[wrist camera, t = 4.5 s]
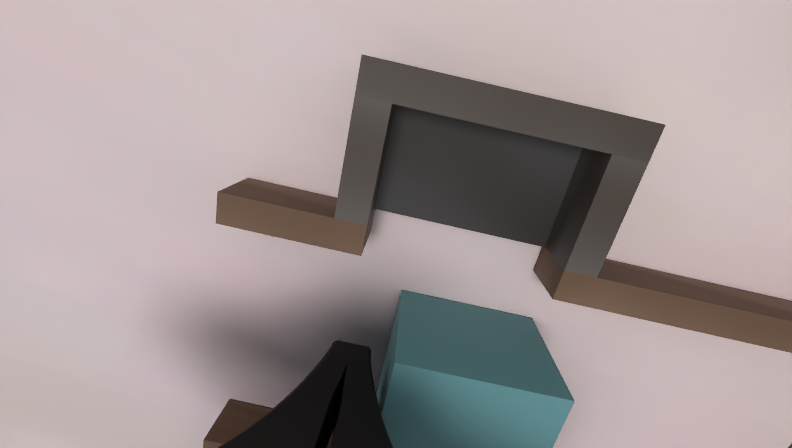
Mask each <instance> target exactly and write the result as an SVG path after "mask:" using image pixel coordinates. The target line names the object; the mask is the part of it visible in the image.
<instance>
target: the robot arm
mask: <svg viewBox="0 0 792 448" xmlns="http://www.w3.org/2000/svg"><path fill="white" fill-rule="evenodd" d="M332 432H333V436H332V442H331V446H330V448H393V446H392V443H391V441H390V438H389V436H388V433H387V430H386V427H385V424H384V421H383V418H382V415H381V411H380V408H379V404H378V400H377V396H376V392H375V387H374V382H373V376H372V368H371V350H370V348H369V347H366V346H361V345H357V344H352V343H348V342H343V341H338V340H337V341H335V342H334V343H333V344H332V346H331V348H330V349H329V351H328V352H327V353H326V355H325V356H324V357H323V359H322V360H321V361H320V362H319V364H318V365H317V366H316V367H315V368H314V369H313V370H312V372H311V373H310V374H309V375H308V376H307V377H306V378H305V379H304V380H303V381H302V382H301V383H300V384H299V385H298V386H297V387H296V388H295V389H294V390H293V391H292V392H291V393H290V394H289V395H288V396H287V397H286V398H285V399H284V400H283V401H281V402H280V403H279V404H278V405H277V406H276V407H274V408H273V409H272V410H271V411H270V412H268V413H267V414H266V415H265V416H263V417H262V418H261V419H259V420H258V421H257V422H255V423H254V424H253V425H251V426H250V427H249V428H247V429H246V430H244V431H243V432H241V433H240V434H238V435H237V436H235V437H234V438H232V439H231V440H229V441H227V442H226V443H224V444H223V445H221V446H219V447H218V448H327V446H328V443H329V440H330V438H331V435H332Z"/></svg>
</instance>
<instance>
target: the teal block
mask: <svg viewBox="0 0 792 448" xmlns="http://www.w3.org/2000/svg"><path fill="white" fill-rule="evenodd" d="M376 396H377V400H378V404H379V408H380V411H381V415H382V418H383V421H384V424H385V427H386V430H387V433H388V436H389V438H390V441H391V443H392V446H393V448H552V447H553V445H554V443H555V441H556V439H557V437H558V435H559V433H560V431H561V428H562V426H563V424H564V422H565V420H566V418H567V416H568V414H569V412H570V410H571V407H572V405H573V403H574V399H573V397H572V395H571V393H570V391H569V390H568V388H567V386H566V384H565V382H564V380H563V378H562V376H561V374H560V372H559V370H558V368H557V366H556V364H555V362H554V360H553V358H552V356H551V354H550V353H549V351H548V349H547V347H546V345H545V343H544V341H543V339H542V337H541V335H540V333H539V331H538V329H537V327H536V325H535V323H534V321H533V319H532V318H529V317H524V316H519V315H515V314H510V313H506V312H501V311H496V310H492V309H487V308H482V307H478V306H473V305H469V304H464V303H459V302H455V301H450V300H445V299H441V298H436V297H431V296H427V295H422V294H418V293H413V292H408V291H404V290H401V294H400V299H399V303H398V307H397V311H396V315H395V319H394V323H393V327H392V332H391V336H390V340H389V344H388V348H387V352H386V356H385V360H384V365H383V369H382V373H381V377H380V381H379V385H378V389H377V393H376Z"/></svg>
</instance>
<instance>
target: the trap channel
mask: <svg viewBox="0 0 792 448" xmlns="http://www.w3.org/2000/svg"><path fill="white" fill-rule="evenodd" d="M664 127H665V125H664V124H660V123H655V122H651V121H647V120H642V119H638V118H634V117H629V116H625V115H621V114H617V113H612V112H608V111H604V110H599V109H595V108H591V107H586V106H582V105H578V104H573V103H569V102H565V101H560V100H556V99H552V98H547V97H543V96H539V95H534V94H530V93H526V92H521V91H517V90H513V89H508V88H504V87H500V86H496V85H491V84H487V83H483V82H478V81H474V80H470V79H465V78H461V77H457V76H452V75H448V74H444V73H439V72H435V71H431V70H426V69H422V68H418V67H413V66H409V65H405V64H400V63H396V62H392V61H387V60H383V59H379V58H375V57H370V56H366V55H362V57H361V62H360V68H359V74H358V80H357V86H356V92H355V98H354V104H353V110H352V116H351V121H350V127H349V133H348V139H347V145H346V151H345V157H344V163H343V169H342V175H341V180H340V186H339V192H338V198H334V197H329V196H325V195H321V194H316V193H312V192H307V191H303V190H298V189H294V188H290V187H285V186H281V185H276V184H272V183H268V182H263V181H259V180H254V179H250V178H247V179H245V180H242V181H240V182H238V183H236V184H234V185H232V186H229V187H227V188H225V189H223V190H221V191H218V194H217V212H216V223H217V224H221V225H226V226H230V227H235V228H239V229H244V230H248V231H253V232H257V233H261V234H266V235H270V236H275V237H279V238H284V239H288V240H293V241H297V242H302V243H306V244H310V245H315V246H319V247H324V248H328V249H333V250H337V251H342V252H346V253H350V254H355V255H359V256H361V255H362V252H363V249H364V247H365V244H366V241H367V239H368V236H369V233H370V229H371V224H372V219H373V214H374V209H379V210H383V211H388V212H392V213H397V214H401V215H405V216H410V217H414V218H419V219H423V220H427V221H432V222H436V223H441V224H445V225H450V226H454V227H458V228H463V229H467V230H472V231H476V232H480V233H485V234H489V235H494V236H498V237H502V238H507V239H511V240H516V241H520V242H525V243H529V244H533V245H538V246H542V249H541V252H540V254H539V257H538V260H537V262H536V265H535V268H534V272H535V273H536V275H537V276H538V278H539V279H540V281H541V282H542V284H543V285H544V287H545V288H546V290H547V291H548V293H549V294H550V296H551V297H552V299H555V300H559V301H564V302H568V303H573V304H577V305H582V306H586V307H591V308H595V309H599V310H604V311H608V312H613V313H617V314H622V315H626V316H631V317H635V318H639V319H644V320H648V321H653V322H657V323H662V324H666V325H671V326H675V327H679V328H684V329H688V330H693V331H697V332H702V333H706V334H711V335H715V336H719V337H724V338H728V339H733V340H737V341H742V342H746V343H751V344H755V345H759V346H764V347H768V348H773V349H777V350H782V351H786V352H791V353H792V301H788V300H784V299H780V298H775V297H771V296H766V295H762V294H757V293H753V292H749V291H744V290H740V289H735V288H731V287H727V286H722V285H718V284H713V283H709V282H704V281H700V280H696V279H691V278H687V277H682V276H678V275H674V274H669V273H665V272H660V271H656V270H652V269H647V268H643V267H638V266H634V265H629V264H625V263H621V262H616V261H612V260H607V259H606V257H607V254H608V252H609V250H610V248H611V245H612V243H613V241H614V239H615V236H616V234H617V232H618V230H619V228H620V225H621V223H622V221H623V219H624V216H625V214H626V212H627V210H628V207H629V205H630V203H631V201H632V199H633V196H634V194H635V192H636V190H637V187H638V185H639V183H640V181H641V178H642V176H643V174H644V172H645V170H646V167H647V165H648V163H649V161H650V158H651V156H652V154H653V152H654V149H655V147H656V145H657V143H658V141H659V138H660V136H661V134H662V132H663V129H664ZM271 410H272V409H270V408H266V407H261V406H257V405H252V404H248V403H243V402H239V401H234V400H229V401H228V402H227V404H226V406H225V407H224V409H223V410H222V412H221V413H220V415H219V417H218V418H217V420H216V421H215V423H214V425H213V426H212V428H211V429H210V431H209V432H208V434H207V436H206V437H205V439H204V444H203V448H218V447H219V446H221V445H223V444H224V443H226V442H227V441H229V440H231V439H232V438H234V437H235V436H237V435H238V434H240V433H241V432H243V431H244V430H246V429H247V428H249V427H250V426H251V425H253V424H254V423H255V422H257V421H258V420H259V419H261V418H262V417H263V416H265V415H266V414H267V413H268V412H270V411H271ZM332 436H333V432H332V435H331V438H330V440H329V443H328V446H327V448H330V446H331V442H332ZM790 448H792V446H791V447H790Z"/></svg>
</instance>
